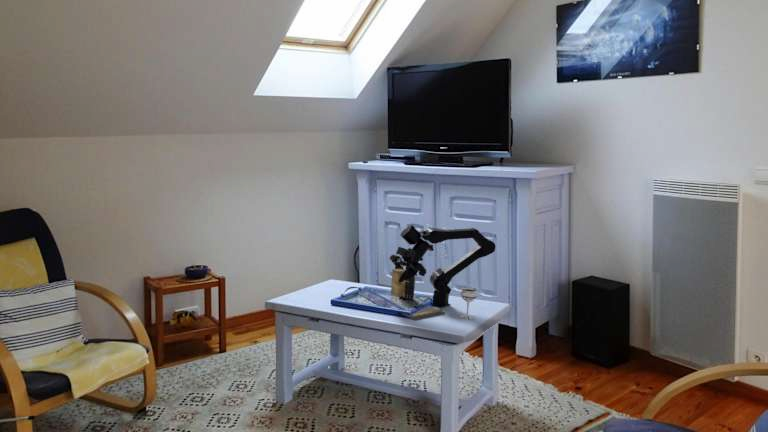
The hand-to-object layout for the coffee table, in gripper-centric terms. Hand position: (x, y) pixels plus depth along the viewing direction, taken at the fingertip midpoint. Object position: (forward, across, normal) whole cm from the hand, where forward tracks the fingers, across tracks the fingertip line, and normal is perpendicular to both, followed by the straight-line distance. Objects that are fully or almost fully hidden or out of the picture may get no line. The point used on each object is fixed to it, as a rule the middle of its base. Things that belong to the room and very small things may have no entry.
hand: (395, 280), depth 280 cm
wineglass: (-5, +23, +24) cm, 33 cm away
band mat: (+4, +9, +14) cm, 17 cm away
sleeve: (+4, 0, +6) cm, 7 cm away
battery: (-1, -9, +19) cm, 21 cm away
